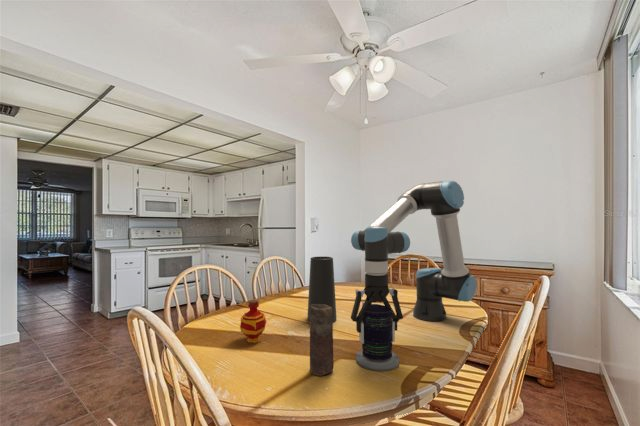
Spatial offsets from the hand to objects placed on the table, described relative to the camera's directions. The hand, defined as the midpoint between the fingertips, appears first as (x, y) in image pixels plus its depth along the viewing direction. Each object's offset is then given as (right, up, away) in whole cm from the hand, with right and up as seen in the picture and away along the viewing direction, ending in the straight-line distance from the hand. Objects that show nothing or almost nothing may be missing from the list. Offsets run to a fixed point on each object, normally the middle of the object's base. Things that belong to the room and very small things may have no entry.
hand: (377, 341), depth 101 cm
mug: (+3, -7, +29) cm, 31 cm away
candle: (-18, -6, -7) cm, 21 cm away
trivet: (0, -6, 0) cm, 6 cm away
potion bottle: (-45, -7, +18) cm, 49 cm away
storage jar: (0, -4, 0) cm, 4 cm away
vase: (-18, -8, +43) cm, 47 cm away
